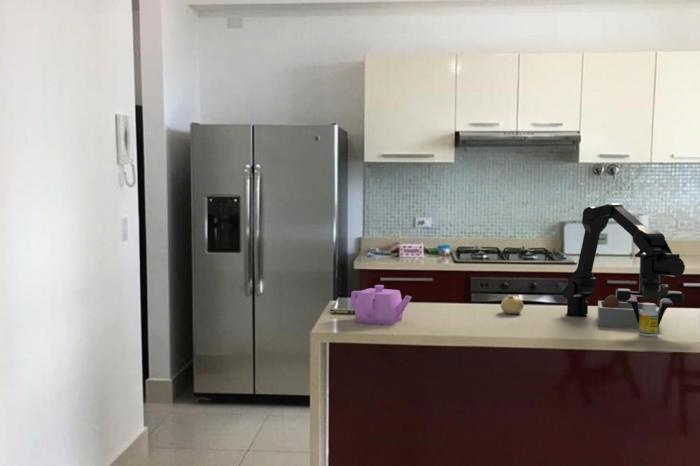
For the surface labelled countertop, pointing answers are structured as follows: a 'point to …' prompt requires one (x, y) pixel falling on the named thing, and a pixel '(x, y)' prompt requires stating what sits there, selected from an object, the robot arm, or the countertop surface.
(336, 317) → the countertop surface
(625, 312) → the tote
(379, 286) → the teakettle
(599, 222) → the robot arm
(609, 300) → the coconut
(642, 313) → the supplement bottle
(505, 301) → the onion
